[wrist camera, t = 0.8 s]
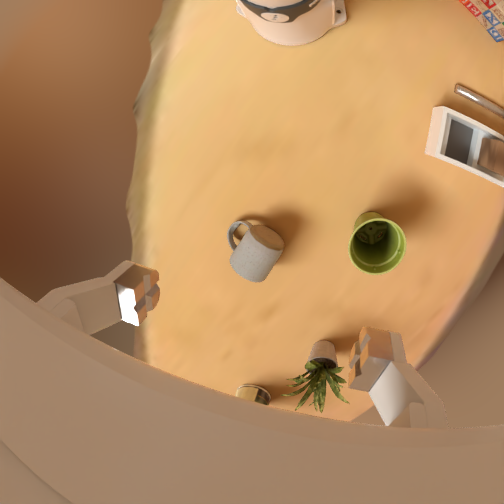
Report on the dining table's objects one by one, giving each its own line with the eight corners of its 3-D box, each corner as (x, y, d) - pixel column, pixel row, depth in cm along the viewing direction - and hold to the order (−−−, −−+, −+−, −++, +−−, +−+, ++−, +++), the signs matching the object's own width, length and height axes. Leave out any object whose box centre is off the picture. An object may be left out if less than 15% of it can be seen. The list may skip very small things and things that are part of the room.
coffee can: (276, 392, 73) (265, 432, 60) (263, 407, 78) (252, 444, 66) (242, 379, 74) (227, 418, 61) (232, 395, 79) (218, 432, 66)
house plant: (277, 337, 63) (260, 392, 49) (328, 312, 57) (323, 371, 43) (310, 372, 66) (301, 425, 52) (359, 352, 60) (359, 409, 46)
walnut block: (482, 137, 32) (499, 140, 27) (501, 147, 31) (519, 152, 26) (477, 164, 34) (493, 170, 29) (496, 173, 34) (513, 181, 28)
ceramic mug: (290, 237, 52) (283, 255, 45) (269, 269, 56) (259, 290, 50) (240, 208, 52) (226, 221, 46) (223, 241, 56) (208, 258, 50)
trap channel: (433, 107, 35) (443, 105, 31) (526, 155, 31) (539, 159, 27) (424, 153, 39) (434, 157, 35) (516, 194, 35) (530, 202, 31)
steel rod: (454, 94, 32) (458, 89, 31) (453, 87, 32) (457, 82, 31) (510, 125, 30) (515, 121, 28) (509, 117, 30) (513, 113, 28)
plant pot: (405, 222, 45) (418, 241, 37) (374, 260, 50) (381, 285, 42) (365, 192, 45) (372, 205, 37) (335, 234, 50) (336, 254, 42)
